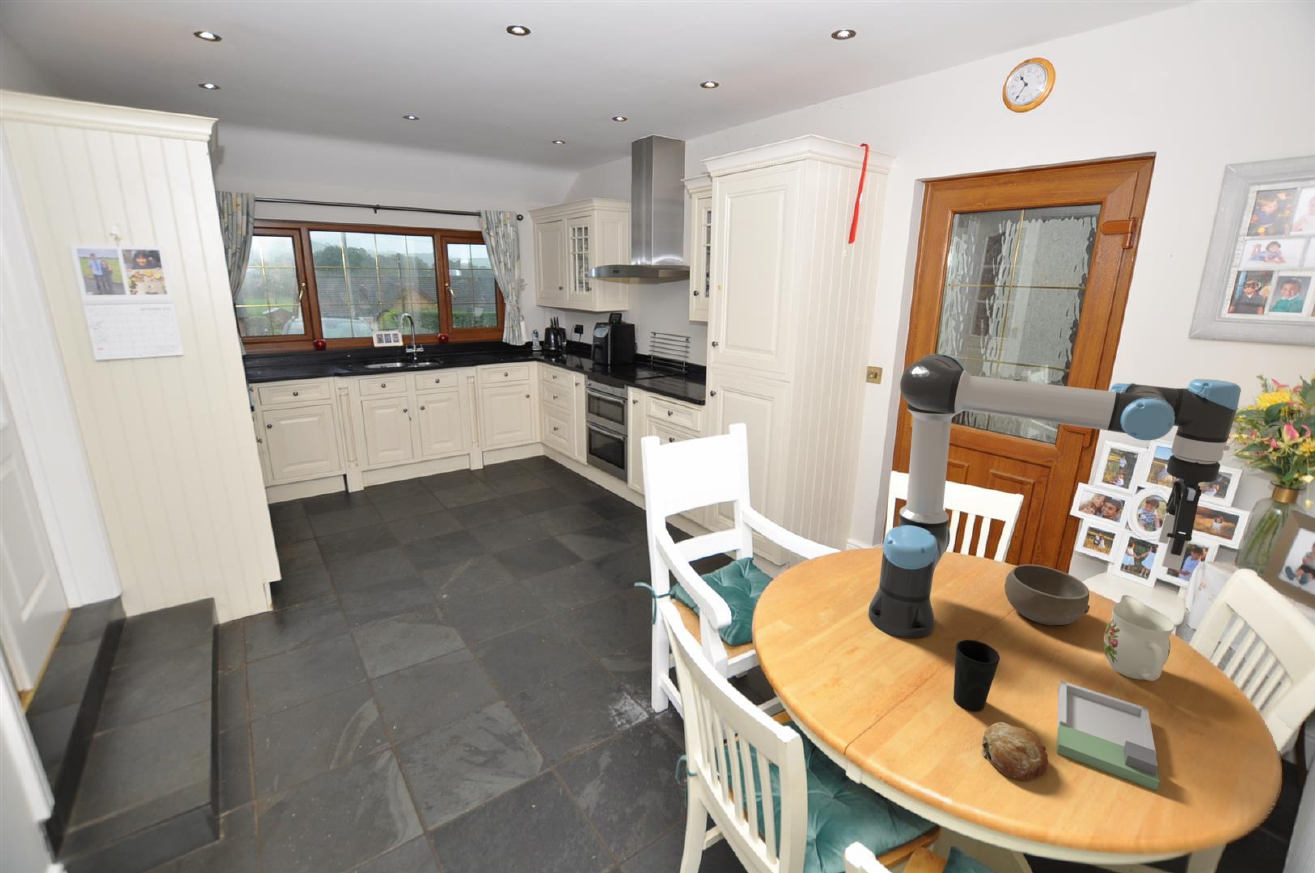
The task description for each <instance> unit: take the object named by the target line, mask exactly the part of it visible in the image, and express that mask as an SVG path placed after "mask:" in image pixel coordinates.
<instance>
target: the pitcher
mask: <svg viewBox="0 0 1315 873" xmlns="http://www.w3.org/2000/svg"><path fill="white" fill-rule="evenodd" d="M1175 628H1176V627H1175V623H1174V622H1173V620H1172V619H1171V618H1169V617H1168V616H1166V614H1164V613H1162V612H1160V611H1158V610H1157V609H1155V608H1153V607H1151V606H1150V605H1149V606H1148V605H1146V604H1144V602H1142V601H1140V600H1138V599H1137V598H1135V597H1134V596H1131V595H1128V594H1124V595H1122V596H1121V598H1120V601H1119V602H1117V603H1115V604H1114V605H1113V606H1112V617H1111V619H1110V620H1109V622H1108V623H1107V625H1106V627H1105V630H1104V633H1103V649H1104V654H1105V657H1106V659H1107V661H1108V663H1109V666H1110V667H1111V668H1112V669H1113V670H1114V671H1116V672H1117V673H1119V674H1121V675H1122V676H1125V677H1127V678H1130V679H1134V680H1142V681H1143V680H1146V681H1151V682H1153V681H1156V680H1158V679H1159V678H1160V677H1161V675H1162V672H1163V670H1164V669H1163V668H1164V665H1166V663H1167V661H1168V659H1169V656H1170V652H1171V639H1170V636H1171V634H1172V633H1173V631H1174V629H1175Z"/></svg>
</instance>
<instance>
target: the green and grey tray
mask: <svg viewBox="0 0 1315 873" xmlns="http://www.w3.org/2000/svg"><path fill="white" fill-rule="evenodd" d="M1057 693H1058V694H1057V731H1056V732H1057V734H1056V735H1057V736H1056V737H1057V738H1056V754H1058V755H1061V756H1064V757H1066V758H1069V759H1072V760H1073V761H1076V762H1080V763H1082V764H1084V765H1087V766H1090V767H1092V768H1095V769H1097V770H1101V771H1102V772H1106V773H1108V774H1110V775H1114V776H1117V777H1118V778H1122V779H1124V780H1127V781H1129V782H1133V783H1135V784H1137V785H1140V786H1142V787H1145V788H1148V789H1150V790H1154V791H1156V792H1157V791H1158V789H1159V785H1160V783H1161V782H1160V776H1159V771H1158V768H1159V765H1158V760H1157V759H1158V758H1157V752H1156V746H1155V740H1154V735H1153V730H1152V725H1151V718H1150V714H1149V708H1148V707H1145V706H1142V705H1139V704H1135V703H1132V702H1129V701H1127V700H1122V699H1120V698H1117V697H1114V696H1110V695H1108V694H1104V693H1102V692H1098V691H1095V690H1092V689H1089V688H1085V687H1083V686H1079V685H1076V684H1073V683H1070V682H1067V681H1063V680H1060V682H1059V687H1058V692H1057Z"/></svg>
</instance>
